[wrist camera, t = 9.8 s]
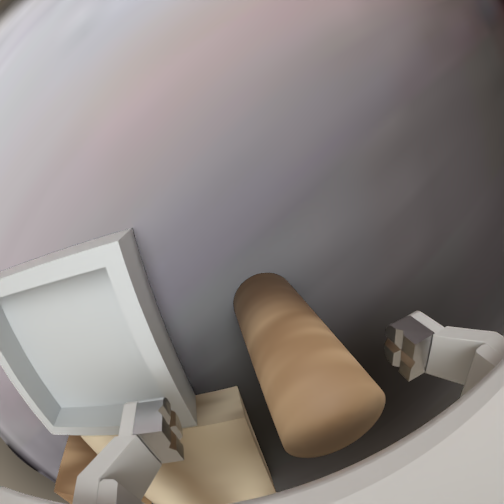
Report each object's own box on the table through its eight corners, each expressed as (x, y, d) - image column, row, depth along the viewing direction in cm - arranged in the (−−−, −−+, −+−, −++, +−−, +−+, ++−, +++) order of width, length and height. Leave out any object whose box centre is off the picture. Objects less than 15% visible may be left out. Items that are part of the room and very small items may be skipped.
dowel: (287, 265, 13) (390, 365, 6) (297, 317, 14) (379, 430, 7) (226, 282, 13) (273, 414, 5) (241, 335, 14) (289, 468, 6)
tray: (132, 227, 11) (117, 240, 9) (195, 395, 14) (197, 425, 12) (-12, 276, 10) (-36, 292, 8) (61, 409, 13) (52, 434, 11)
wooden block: (103, 427, 14) (90, 497, 9) (151, 479, 17) (152, 535, 11) (71, 428, 14) (53, 491, 8) (122, 479, 16) (119, 532, 11)
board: (236, 380, 15) (244, 417, 12) (268, 467, 19) (276, 493, 16) (90, 404, 14) (80, 436, 11) (161, 484, 18) (162, 509, 15)
